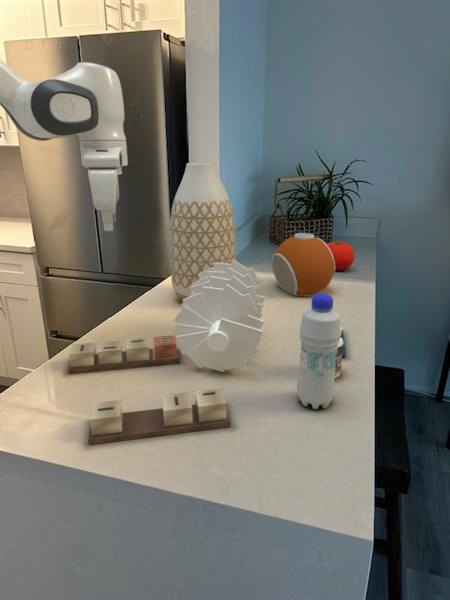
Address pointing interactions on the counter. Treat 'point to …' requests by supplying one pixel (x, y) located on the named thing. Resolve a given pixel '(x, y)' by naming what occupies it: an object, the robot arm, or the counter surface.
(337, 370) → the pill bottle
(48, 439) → the counter surface
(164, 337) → the s tile
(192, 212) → the vase
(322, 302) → the bottle
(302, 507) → the counter surface
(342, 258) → the tomato
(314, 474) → the counter surface
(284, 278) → the alarm clock
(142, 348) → the back rack
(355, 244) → the counter surface
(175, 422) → the front rack
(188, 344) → the spiral staircase
